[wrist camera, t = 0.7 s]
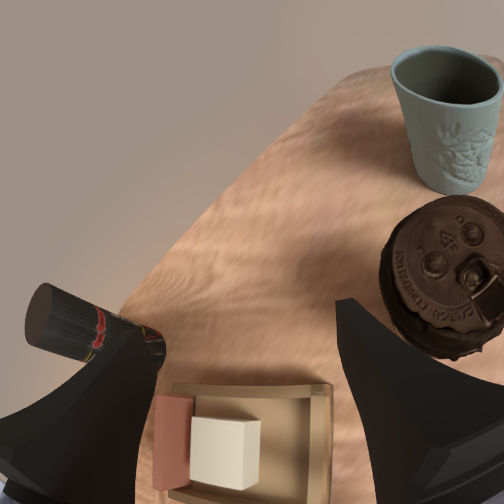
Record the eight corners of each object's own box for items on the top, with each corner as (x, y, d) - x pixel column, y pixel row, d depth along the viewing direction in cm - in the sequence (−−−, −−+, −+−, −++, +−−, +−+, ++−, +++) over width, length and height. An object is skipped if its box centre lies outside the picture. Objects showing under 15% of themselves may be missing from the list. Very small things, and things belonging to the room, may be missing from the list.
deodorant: (169, 329, 33) (58, 280, 21) (162, 379, 31) (42, 348, 19) (135, 328, 36) (33, 284, 24) (128, 374, 33) (20, 342, 21)
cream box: (258, 482, 20) (241, 490, 18) (209, 474, 22) (189, 479, 20) (260, 420, 23) (244, 422, 21) (211, 416, 25) (191, 416, 23)
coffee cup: (473, 376, 18) (539, 354, 7) (379, 372, 22) (364, 351, 11) (478, 275, 21) (519, 181, 11) (391, 273, 25) (378, 180, 15)
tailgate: (197, 482, 23) (161, 491, 19) (189, 480, 23) (152, 488, 19) (201, 399, 27) (164, 395, 23) (193, 398, 28) (156, 394, 24)
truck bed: (328, 512, 17) (318, 527, 15) (190, 491, 23) (168, 497, 20) (333, 385, 23) (323, 383, 20) (194, 385, 29) (172, 382, 26)
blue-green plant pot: (498, 203, 22) (521, 109, 13) (407, 203, 27) (397, 107, 18) (478, 133, 26) (480, 45, 16) (400, 133, 31) (383, 46, 21)
